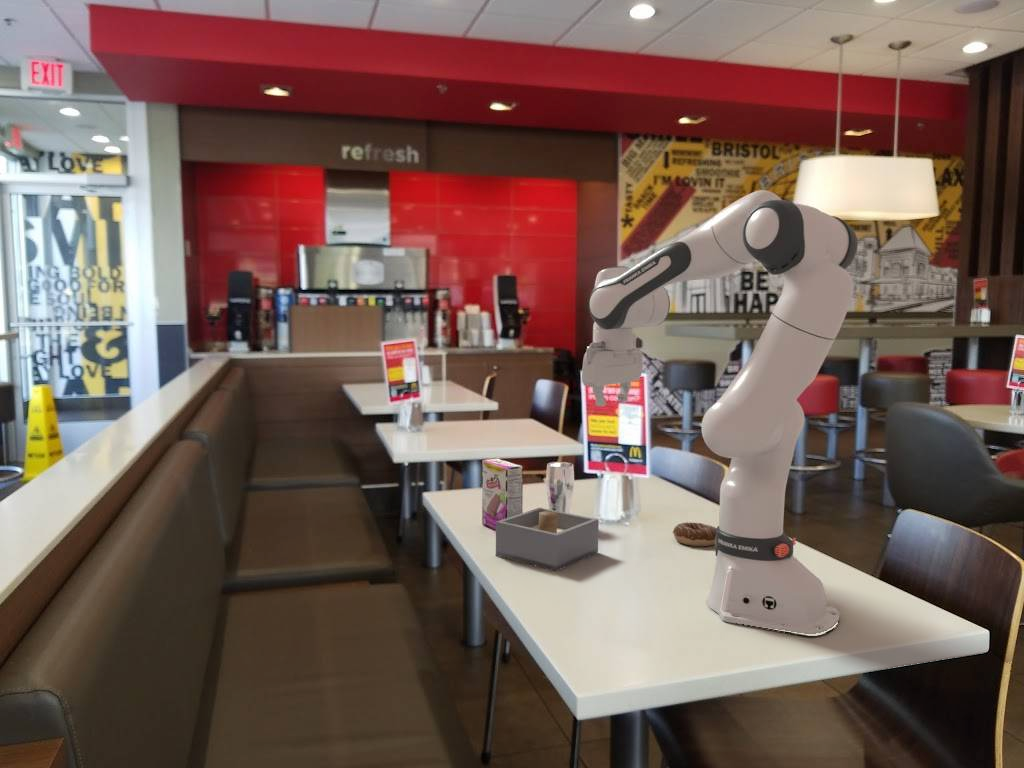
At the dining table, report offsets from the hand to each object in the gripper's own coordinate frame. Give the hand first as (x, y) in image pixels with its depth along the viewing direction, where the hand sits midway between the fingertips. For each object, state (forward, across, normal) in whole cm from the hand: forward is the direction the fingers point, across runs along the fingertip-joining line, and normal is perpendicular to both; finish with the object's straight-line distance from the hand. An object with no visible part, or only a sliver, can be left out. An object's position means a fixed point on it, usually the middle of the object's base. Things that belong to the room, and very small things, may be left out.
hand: (611, 403), depth 177 cm
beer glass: (+33, +9, +20) cm, 39 cm away
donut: (+33, +17, -13) cm, 39 cm away
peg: (+31, -13, +8) cm, 35 cm away
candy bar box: (+33, -4, +28) cm, 43 cm away
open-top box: (+32, -13, +8) cm, 36 cm away
